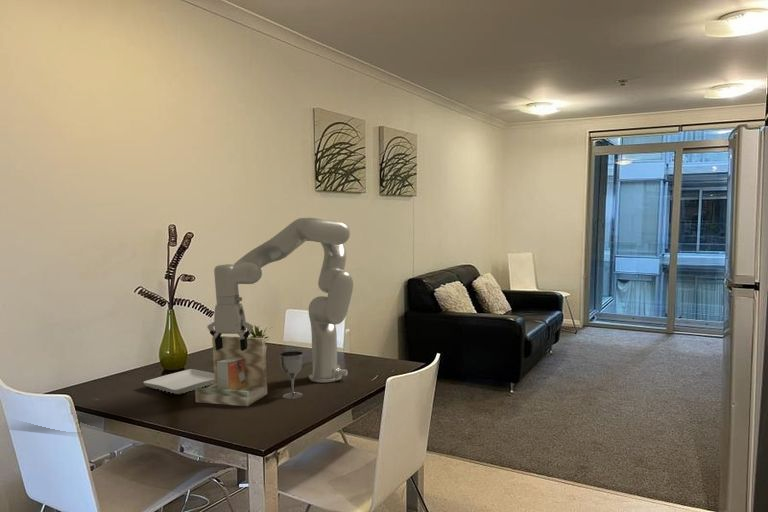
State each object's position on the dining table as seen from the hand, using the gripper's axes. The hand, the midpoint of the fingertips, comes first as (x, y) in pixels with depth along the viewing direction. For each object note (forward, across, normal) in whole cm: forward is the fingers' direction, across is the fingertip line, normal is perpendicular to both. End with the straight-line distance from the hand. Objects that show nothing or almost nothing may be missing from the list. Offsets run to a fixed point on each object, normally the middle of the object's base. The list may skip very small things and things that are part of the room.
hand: (231, 349), depth 190 cm
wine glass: (+18, -19, -6) cm, 27 cm away
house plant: (+18, +20, -49) cm, 55 cm away
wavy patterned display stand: (+17, +1, +1) cm, 17 cm away
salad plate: (+17, +27, -8) cm, 33 cm away
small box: (+14, 0, +1) cm, 14 cm away
